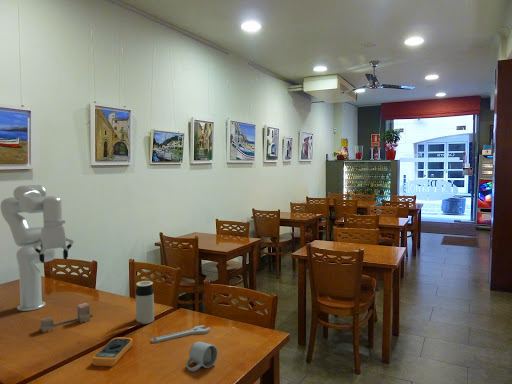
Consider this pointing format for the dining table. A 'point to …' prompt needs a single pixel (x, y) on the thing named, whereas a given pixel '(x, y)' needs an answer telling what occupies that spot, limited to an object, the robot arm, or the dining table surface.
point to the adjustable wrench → (182, 334)
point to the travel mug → (144, 302)
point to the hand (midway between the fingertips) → (54, 260)
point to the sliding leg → (83, 312)
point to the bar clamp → (52, 324)
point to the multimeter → (112, 351)
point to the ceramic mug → (202, 355)
